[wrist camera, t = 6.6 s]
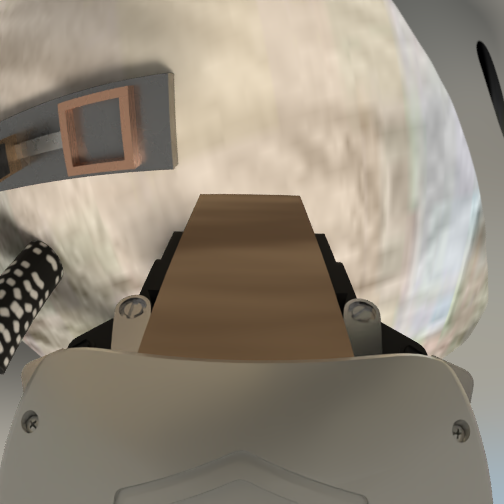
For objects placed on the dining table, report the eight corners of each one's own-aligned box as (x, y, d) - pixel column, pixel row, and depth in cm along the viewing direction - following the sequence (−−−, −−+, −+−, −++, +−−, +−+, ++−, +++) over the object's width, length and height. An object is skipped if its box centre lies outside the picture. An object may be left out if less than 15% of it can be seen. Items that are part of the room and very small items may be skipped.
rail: (178, 163, 28) (137, 212, 18) (4, 186, 28) (-47, 226, 18) (173, 73, 23) (121, 69, 13) (-8, 126, 23) (-65, 155, 13)
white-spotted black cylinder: (26, 233, 33) (-47, 319, 16) (63, 253, 35) (-6, 354, 18) (28, 269, 37) (-29, 352, 20) (63, 288, 39) (10, 382, 23)
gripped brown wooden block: (200, 194, 14) (132, 369, 5) (299, 195, 14) (359, 374, 5) (206, 270, 16) (175, 437, 8) (291, 272, 16) (315, 439, 8)
